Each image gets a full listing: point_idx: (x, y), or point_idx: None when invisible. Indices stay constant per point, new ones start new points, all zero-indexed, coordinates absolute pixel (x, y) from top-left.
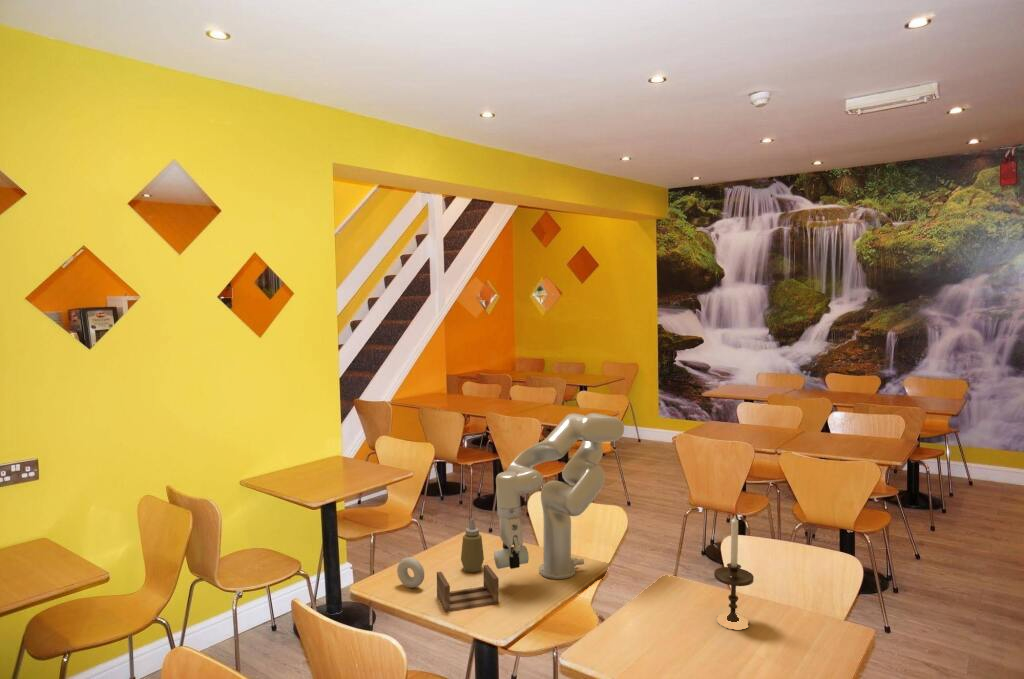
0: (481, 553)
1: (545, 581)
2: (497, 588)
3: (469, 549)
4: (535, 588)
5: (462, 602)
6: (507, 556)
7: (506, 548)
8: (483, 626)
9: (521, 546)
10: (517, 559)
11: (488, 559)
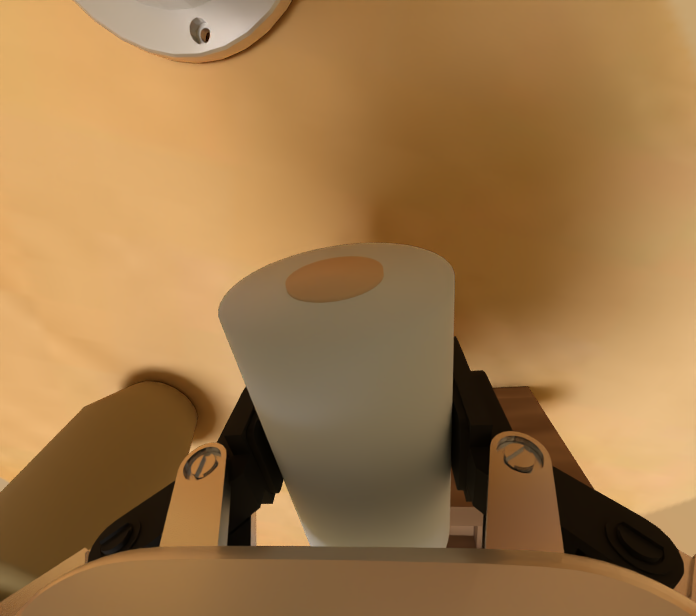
0: (120, 454)
1: (338, 48)
2: (565, 451)
3: None
4: (429, 160)
5: None
6: (443, 505)
7: (260, 490)
8: (690, 470)
9: (666, 594)
10: (504, 417)
11: (40, 328)
